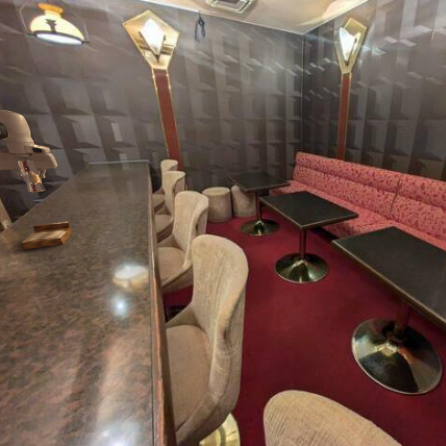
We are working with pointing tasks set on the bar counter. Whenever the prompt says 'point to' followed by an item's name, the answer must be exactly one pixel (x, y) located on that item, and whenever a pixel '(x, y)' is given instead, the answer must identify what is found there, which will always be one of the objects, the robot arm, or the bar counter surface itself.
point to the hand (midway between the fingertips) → (32, 178)
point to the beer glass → (31, 175)
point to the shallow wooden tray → (48, 235)
